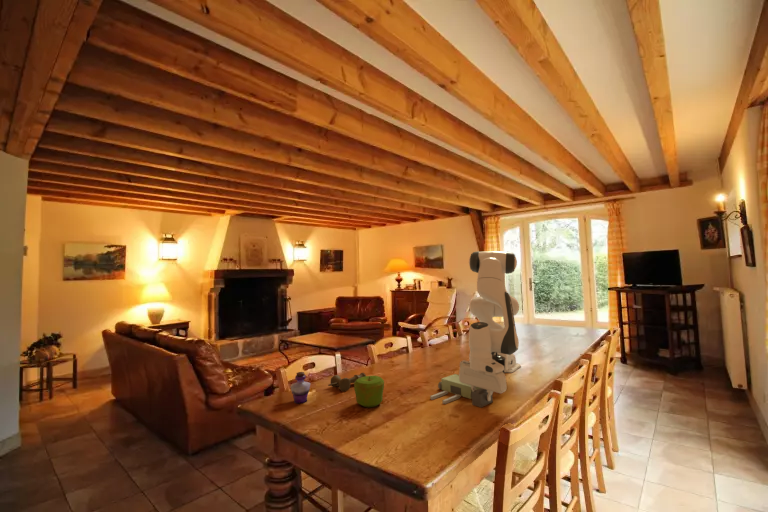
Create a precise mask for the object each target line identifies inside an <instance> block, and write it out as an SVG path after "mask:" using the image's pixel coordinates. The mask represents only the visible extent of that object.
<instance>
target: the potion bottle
mask: <svg viewBox="0 0 768 512" xmlns="http://www.w3.org/2000/svg"><path fill="white" fill-rule="evenodd" d="M306 377H307V376H306V374H305V371H298V372H296V375H295V379H294V380H295V381H296V382H294V383H291V385H290V390H291V391H290V392H291V394H292V397H293V404H297V405H300V404H305V403H307V402H308V395H309V392H310V388H311V382H308V381H305V380H306V379H307V378H306Z"/></svg>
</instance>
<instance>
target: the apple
mask: <svg viewBox="0 0 768 512" xmlns="http://www.w3.org/2000/svg"><path fill="white" fill-rule="evenodd" d="M384 388H385V381H384V379H383V378H382V377H381V376H379V375H366V376H365V377H361V378H358V379H357V380H356V381H355V382H354V383H353V389H354V394H355V399H356V403H357V404H358V405H360V406H361V407H365V408H375V407H378V405H380V404H381V403H382V401H383V400H384V399H383V398H384V396H383V394H384Z"/></svg>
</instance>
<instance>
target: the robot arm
mask: <svg viewBox="0 0 768 512" xmlns="http://www.w3.org/2000/svg"><path fill="white" fill-rule="evenodd" d="M517 265H518V261H517V257H516V255H515V253H513V252H510V251H502V250H500V251H499V250H484V251H473V252H471V254H470V256H469V259H468V266H469V269H470V270H471V271H472V272H473V273H475V274H476V273H477V279H476V280H477V281H476V289H477V290H476V291H477V294H478V295H479V296H478V297H477V296H476V297H473V298H471V300H470V301H469V304H468V305H469V306H468V307H469V312H470V313H471V314H472V315H473V316H474V317H476V319H477V320H478V321H475V322H472V323H471V324H470V325H469V329H468V332H469V333H468V347H469V350H470V351H469V355H468V357H469V358H468V359H469V360H465V359H463V360H460V362H459V372H458V375H459V380H460V382H461V383H465V384H468V385H471V389H472V391H475V390H476V387H479V388H482V389H486V390H487V392H488V395H487V396H485V400H486V401H491V395H492V396H493V393H497V394H503V393H505V392H506V391H507V388H508V387H507V385H508V384H507V377H506V373H514V372H516V371H517V370H518V369H519V368H521V364H520V363H517V360H516V355H515V353H516V352H517V351H518V350H519V347H520V343H519V341H520V340H519V337H518V334H517V333H518V332H517V328H516V324H515V323H516V322H515V316H516V315H517V314H518V313H519V310H520V304H519V302H518V300H517V299H516V298H515V297H513V296H512V295H511V294H509V292H508V291H507V289H506V280H505V279H506V274H507V275H508V274H512V273H514V272H515V270H516V268H517ZM497 317H498V318H503V325H502V324H500V323H498V322H496V321H494V319H493V318H497ZM496 352H497V354H498V355H501V356H503V357H505V358H506V359H505V370H504V366H503V365H502V364H500V363H498V362H496V361H495V360H493V359H492V355H494V354H496ZM503 370H504V373H503V372H502V371H503Z"/></svg>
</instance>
